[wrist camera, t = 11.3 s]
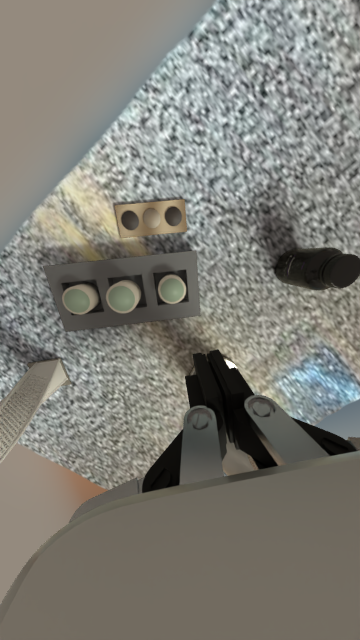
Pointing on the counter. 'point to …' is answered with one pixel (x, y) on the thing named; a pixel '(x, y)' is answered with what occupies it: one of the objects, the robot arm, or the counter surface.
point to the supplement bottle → (318, 268)
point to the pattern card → (151, 218)
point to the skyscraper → (28, 400)
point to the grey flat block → (137, 270)
